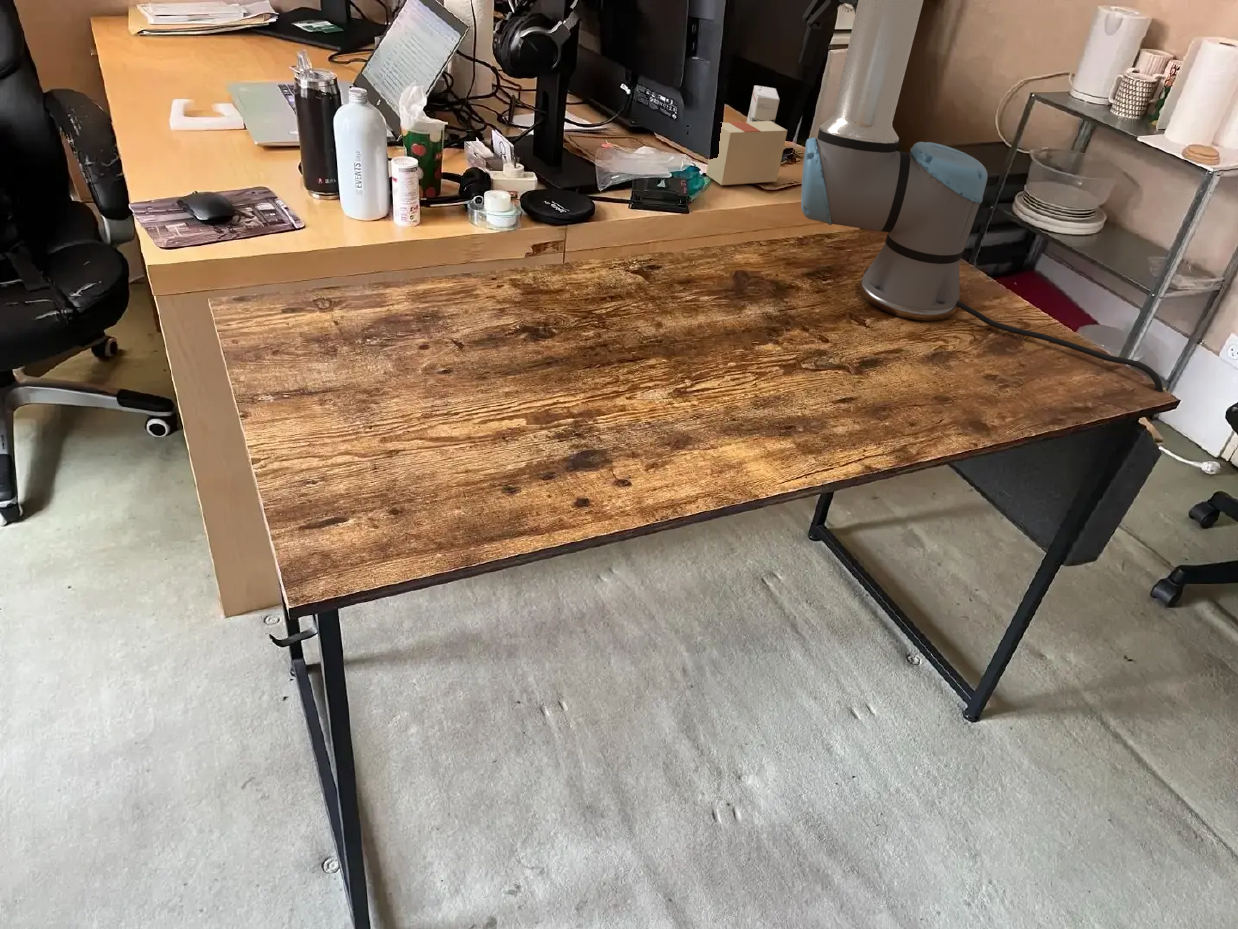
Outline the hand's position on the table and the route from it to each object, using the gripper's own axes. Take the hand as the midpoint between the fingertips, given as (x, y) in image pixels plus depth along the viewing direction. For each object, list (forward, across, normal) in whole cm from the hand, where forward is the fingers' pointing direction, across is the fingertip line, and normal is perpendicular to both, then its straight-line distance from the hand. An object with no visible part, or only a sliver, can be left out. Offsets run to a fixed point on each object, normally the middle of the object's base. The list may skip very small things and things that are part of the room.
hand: (826, 72), depth 173 cm
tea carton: (+17, +2, +12) cm, 21 cm away
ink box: (+19, +18, -3) cm, 26 cm away
